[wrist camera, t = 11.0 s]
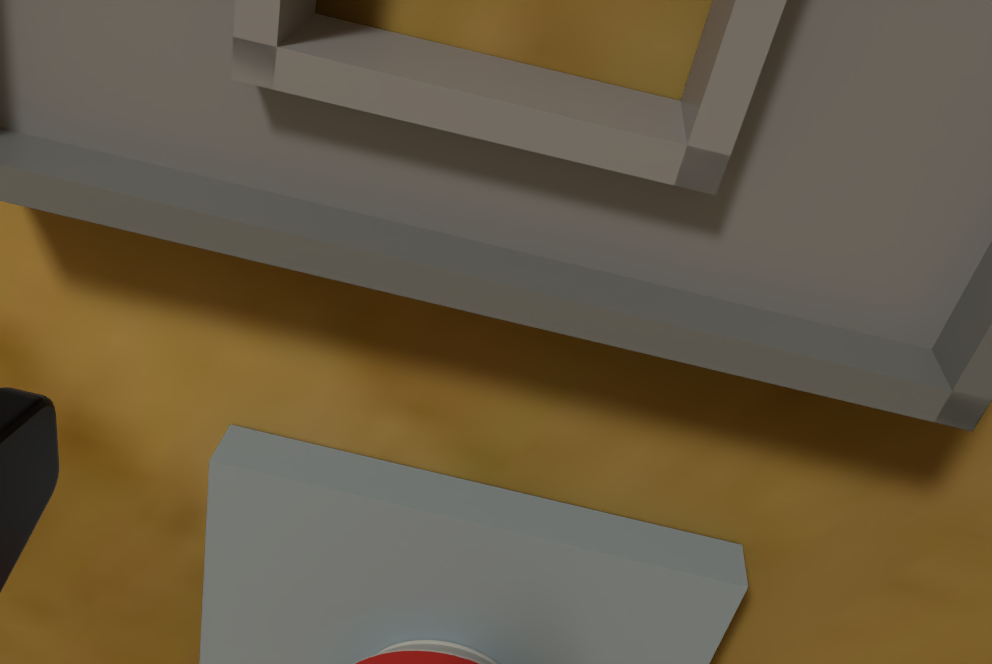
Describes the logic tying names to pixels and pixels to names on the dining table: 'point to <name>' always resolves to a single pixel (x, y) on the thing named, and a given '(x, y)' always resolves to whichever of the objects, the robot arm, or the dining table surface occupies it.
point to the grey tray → (556, 176)
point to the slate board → (441, 567)
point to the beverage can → (427, 654)
